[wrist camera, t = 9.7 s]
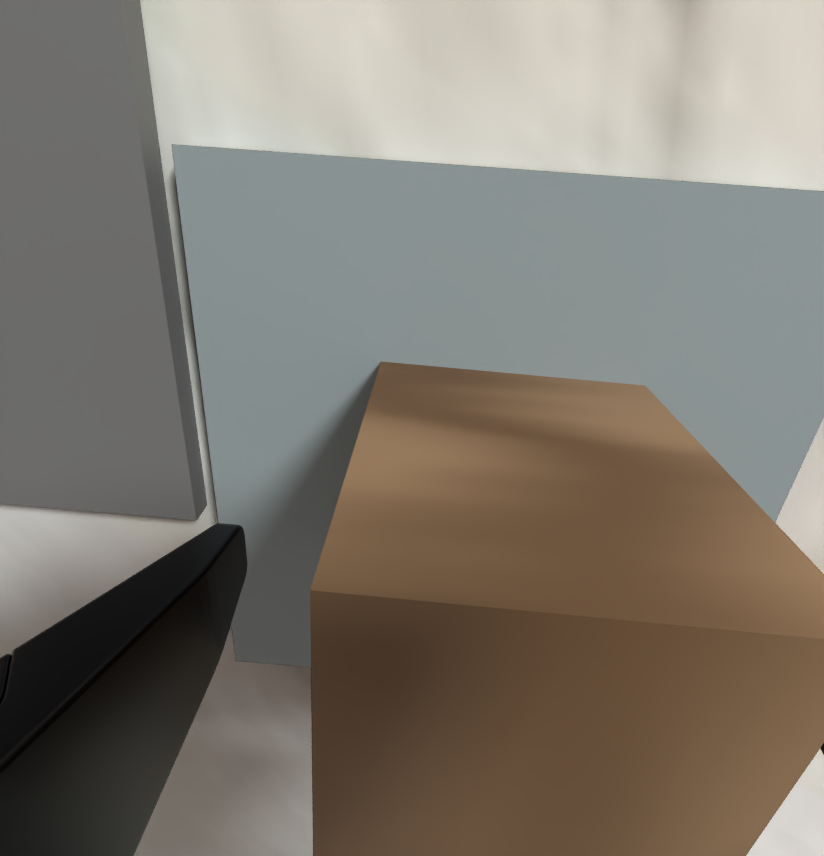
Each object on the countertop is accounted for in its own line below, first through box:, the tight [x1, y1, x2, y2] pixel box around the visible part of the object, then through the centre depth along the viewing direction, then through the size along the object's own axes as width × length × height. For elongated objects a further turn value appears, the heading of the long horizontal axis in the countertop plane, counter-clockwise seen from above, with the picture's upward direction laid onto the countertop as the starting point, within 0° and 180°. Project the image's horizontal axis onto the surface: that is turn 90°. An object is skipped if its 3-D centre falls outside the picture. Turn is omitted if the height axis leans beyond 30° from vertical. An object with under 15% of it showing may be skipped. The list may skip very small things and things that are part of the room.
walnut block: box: [310, 361, 824, 856], centre depth 8 cm, size 5×5×6 cm
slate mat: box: [172, 144, 824, 667], centre depth 11 cm, size 12×12×1 cm
